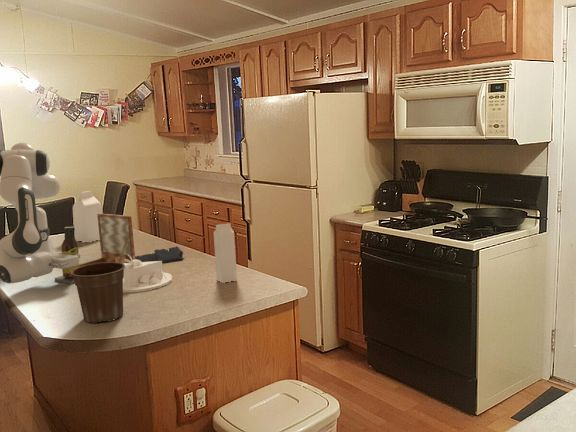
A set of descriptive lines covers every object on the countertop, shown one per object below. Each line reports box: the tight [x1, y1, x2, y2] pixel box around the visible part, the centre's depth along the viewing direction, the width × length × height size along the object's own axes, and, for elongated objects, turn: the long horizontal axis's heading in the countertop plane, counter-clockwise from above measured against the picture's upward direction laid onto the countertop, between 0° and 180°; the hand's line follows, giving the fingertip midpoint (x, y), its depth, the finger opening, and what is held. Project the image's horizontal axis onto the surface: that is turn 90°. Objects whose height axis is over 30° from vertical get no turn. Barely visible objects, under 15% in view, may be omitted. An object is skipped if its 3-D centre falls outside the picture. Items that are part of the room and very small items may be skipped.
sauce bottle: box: [61, 226, 80, 278], centre depth 224 cm, size 7×6×20 cm
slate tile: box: [54, 275, 75, 285], centre depth 226 cm, size 10×10×1 cm
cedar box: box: [79, 213, 136, 267], centre depth 237 cm, size 20×18×22 cm
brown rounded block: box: [115, 256, 126, 264], centre depth 239 cm, size 4×4×5 cm
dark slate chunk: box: [134, 246, 185, 265], centre depth 251 cm, size 15×22×5 cm
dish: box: [123, 254, 173, 294], centre depth 217 cm, size 25×25×11 cm
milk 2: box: [213, 222, 238, 284], centre depth 213 cm, size 6×6×22 cm
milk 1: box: [72, 190, 104, 243], centre depth 299 cm, size 12×12×26 cm
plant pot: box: [71, 262, 125, 324], centre depth 179 cm, size 16×16×16 cm
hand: (72, 255), depth 225 cm, fingers closed on sauce bottle, 6 cm apart
